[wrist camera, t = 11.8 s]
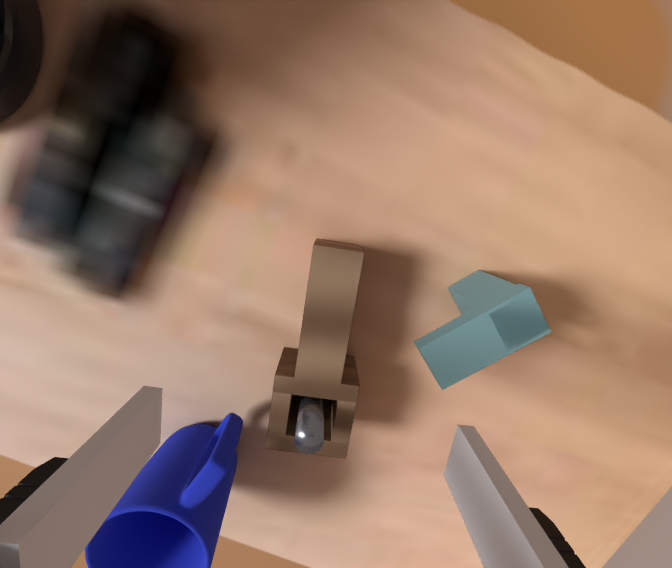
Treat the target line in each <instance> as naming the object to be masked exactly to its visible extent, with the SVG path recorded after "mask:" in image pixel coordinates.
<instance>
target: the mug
mask: <svg viewBox="0 0 672 568" xmlns="http://www.w3.org/2000/svg"><path fill="white" fill-rule="evenodd" d="M242 425H243V420H242V419H241V417H239V416H238V415H236V414H235V413H229V414H228V415H227V416H226V417H225V418H224V420H223V421H222V422H221V424H220V425H219V426H218V428H216V427H214V426H210V425H206V424H194V425H189V426H186V427H184V428H181V429H180V430H178V431H176V432H175V433H174V434H172V435H171V436H170V437H169V438H168V439H167V440H166V441H165V442H164V443H163V445H162V446H161V447H160V448H159V449H158V450H157V452H156V453H155V454H154V455H153V456H152V457H151V459H150V460H149V461H148V462H147V463H146V464H145V466H144V467H143V468H142V469H141V471H140V472H139V473H138V475H137V476H136V478H135V479H134V480H133V482H132V483H131V485H130V486H129V487H128V489H127V490H126V492H125V493H124V494H123V496H122V497H121V499H120V500H119V501H118V503H117V504H116V506H115V507H114V508H113V510H112V511H111V513H110V514H109V515H108V517H107V518H106V520H105V521H104V522H103V524H102V525H101V527H100V528H99V529H98V531H97V532H96V534H95V535H94V536H93V538H92V539H91V541H90V542H89V543H88V545H87V546H86V548H85V557H86V562H87V565H88V568H210V567H211V563H212V560H213V555H214V552H215V548H216V544H217V540H218V537H219V533H220V529H221V525H222V521H223V517H224V513H225V509H226V506H227V502H228V498H229V494H230V490H231V486H232V482H233V478H234V475H235V470H236V465H237V454H236V447H237V444H238V441H239V437H240V434H241V430H242Z"/></svg>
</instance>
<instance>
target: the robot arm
mask: <svg viewBox="0 0 672 568" xmlns="http://www.w3.org/2000/svg"><path fill="white" fill-rule="evenodd" d="M41 54H42V27H41V19H40V13H39V9H38V5H37V1H36V0H0V121H2V120H4V119H5V118H7V117H8V116H9V115H10V114H12V113H13V112H14V111H15V110H16V109H17V108H18V107H19V106H20V105H21V104H22V102H23V101H24V100H25V98H26V97H27V95H28V94H29V92H30V90H31V88H32V86H33V84H34V82H35V79H36V77H37V73H38V70H39V66H40V61H41ZM161 409H162V388H157V387H149V386H143V387H142V388H141V389H140V390H139V391H138V392H137V393H136V394H135V395H134V396H133V397H132V398H131V399H130V400H129V401H128V402H127V403H126V404H125V405H124V406H123V407H122V408H121V409H120V410H119V411H118V412H117V413H116V414H114V415H113V416H112V417H111V418H110V419H109V420H108V421H107V422H106V423H105V424H104V425H103V426H102V427H101V428H100V429H99V430H98V431H97V432H96V433H95V434H94V435H93V436H92V437H91V438H90V439H89V440H88V441H87V442H86V443H84V444H83V445H82V446H81V447H80V448H79V449H78V450H77V451H76V452H75V453H74V454H73V455H72V456H71V457H70V458H69V459H68V458H59V457H54V458H52V459H51V460H49V461H47V462H45V463H44V464H42V465H40V466H38V467H37V468H35V469H34V470H32V471H31V472H30V473H29V474H28V475H27V476H26V477H25V478H24V479H22V480H21V481H20V482H19V483H18V485H17V486H14V487H13V488H12V489H11V490H10V491H9V492H8V493H7V494H5V496H4V498H1V499H0V568H71V567H72V566H73V564H74V563H75V561H76V560H77V559H78V557H79V556H80V555H81V553H82V552H83V550H84V549H85V548H86V546H87V545H88V543H89V542H90V541H91V539H92V538H93V536H94V535H95V534H96V532H97V531H98V529H99V528H100V527H101V525H102V524H103V522H104V521H105V520H106V518H107V517H108V515H109V514H110V513H111V511H112V510H113V508H114V507H115V506H116V504H117V503H118V501H119V500H120V499H121V497H122V496H123V494H124V493H125V492H126V490H127V489H128V487H129V486H130V485H131V483H132V482H133V480H134V479H135V478H136V476H137V475H138V473H139V472H140V471H141V469H142V468H143V466H144V465H145V464H146V462H147V461H148V459H149V458H150V457H151V455H152V454H153V452H154V451H155V450H156V448H157V447H158V445H159V444H160V434H161ZM444 477H445V479H446V481H447V484H448V486H449V488H450V490H451V493H452V495H453V497H454V500H455V502H456V504H457V507H458V509H459V511H460V513H461V516H462V518H463V520H464V523H465V525H466V527H467V529H468V532H469V534H470V536H471V539H472V541H473V543H474V546H475V548H476V550H477V552H478V555H479V557H480V559H481V562H482V564H483V566H484V568H586V567H585V566H584V565H583V563H582V562H581V560H580V559H579V558H578V556H577V555H575V554H574V551H573V549H572V548H571V546H570V545H569V544H568V542H567V541H565V538H564V537H563V535H562V534H561V533H560V531H559V530H558V528H557V527H556V526H555V524H554V523H553V522H552V521H551V520H550V519H549V518H548V517H547V516H546V515H545V514H544V513H543V512H541V511H540V510H539V509H538V508H529V507H528V506H527V505H526V503H525V502H524V500H523V499H522V497H521V496H520V494H519V493H518V491H517V490H516V488H515V487H514V485H513V484H512V482H511V481H510V479H509V478H508V476H507V475H506V473H505V472H504V471H503V469H502V468H501V466H500V465H499V463H498V462H497V460H496V459H495V457H494V456H493V454H492V453H491V451H490V450H489V448H488V447H487V445H486V444H485V442H484V441H483V439H482V438H481V436H480V435H479V433H478V432H477V430H476V429H475V427H474V426H466V425H457V429H456V432H455V436H454V440H453V443H452V447H451V451H450V454H449V458H448V462H447V465H446V469H445V473H444Z"/></svg>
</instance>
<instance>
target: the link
mask: <svg viewBox="0 0 672 568" xmlns="http://www.w3.org/2000/svg"><path fill="white" fill-rule="evenodd" d="M363 257H364V252H363V251H362V250H361V248H360V247H359V246H358V245H354V244H347V243H341V242H335V241H329V240H322V239H316V240H315V243H314V245H313V252H312V259H311V266H310V273H309V280H308V286H307V293H306V300H305V307H304V314H303V321H302V328H301V335H300V342H299V349H292V348H285V347H284V349H283V352H282V355H281V358H280V361H279V364H278V367H277V370H276V373H275V378H274V386H273V393H272V401H271V409H270V416H269V424H268V432H267V440H266V447H265V449H271V450H280V451H288V452H296V453H302V452H300V451H299V450H297V448H296V447H295V444H294V437H295V431H296V424H297V417H298V411H299V404H300V400H296V399H292V398H293V395H300V396H308V397H315V398H323V399H331V404H326V403H324V443H323V446H322V448H321V449H320V450H319V451H318V452H316V453H313V455H321V456H329V457H337V458H346V454H347V449H348V444H349V439H350V434H351V429H352V423H353V418H354V413H355V408H356V403H357V398H358V392H359V387H360V385H359V380H358V374H357V368H356V363H355V357H350V356H346V351H347V346H348V340H349V335H350V329H351V324H352V318H353V312H354V307H355V301H356V296H357V290H358V285H359V279H360V273H361V268H362V262H363Z"/></svg>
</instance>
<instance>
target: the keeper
mask: <svg viewBox="0 0 672 568" xmlns="http://www.w3.org/2000/svg"><path fill="white" fill-rule="evenodd" d="M448 289H449V291H450V293H451V295H452V297H453V298H454V300H455V302H456V304H457V306H458V308H459V310H460V312H461V313H462V315H461V316H459V317H458V318H456V319H454V320H452V321H450V322H449V323H447V324H445V325H443V326H441V327H439V328H438V329H436V330H434V331H432V332H430V333H429V334H427V335H425V336H423V337H421V338H420V339H418V340H416V341H414V343H415V345H416V346H417V348H418V350H419V351H420V353H421V355H422V357H423V358H424V360H425V362H426V364H427V365H428V367H429V369H430V370H431V372H432V374H433V376H434V377H435V379H436V381H437V382H438V384H439V385H440V387H441V389H442V390H443V389H445V388H447V387H449V386H451V385H453V384H455V383H456V382H458V381H460V380H462V379H464V378H466V377H468V376H470V375H472V374H473V373H475V372H477V371H479V370H481V369H483V368H485V367H487V366H488V365H490V364H492V363H494V362H496V361H498V360H500V359H502V358H503V357H505V356H507V355H509V354H511V353H513V352H515V351H517V350H518V349H520V348H522V347H524V346H526V345H528V344H530V343H532V342H533V341H535V340H537V339H539V338H541V337H543V336H545V335H547V334H549V333H550V332H551V330H550V328H549V326H548V324H547V322H546V320H545V318H544V316H543V313H542V311H541V309H540V307H539V305H538V303H537V301H536V299H535V297H534V294H533V292H532V290H531V288H530V287H528V286H525V285H522V284H520V283H519V284H517V285H516V284H513V283H511V282H508V281H506V280H503V279H501V278H498V277H496V276H493V275H491V274H488V273H486V272H483V271H480V270H478V271H476V272H474V273H473V274H471V275H469V276H467V277H465V278H464V279H462V280H460V281H458V282H457V283H455V284H453V285H451V286H450V287H448Z"/></svg>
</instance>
